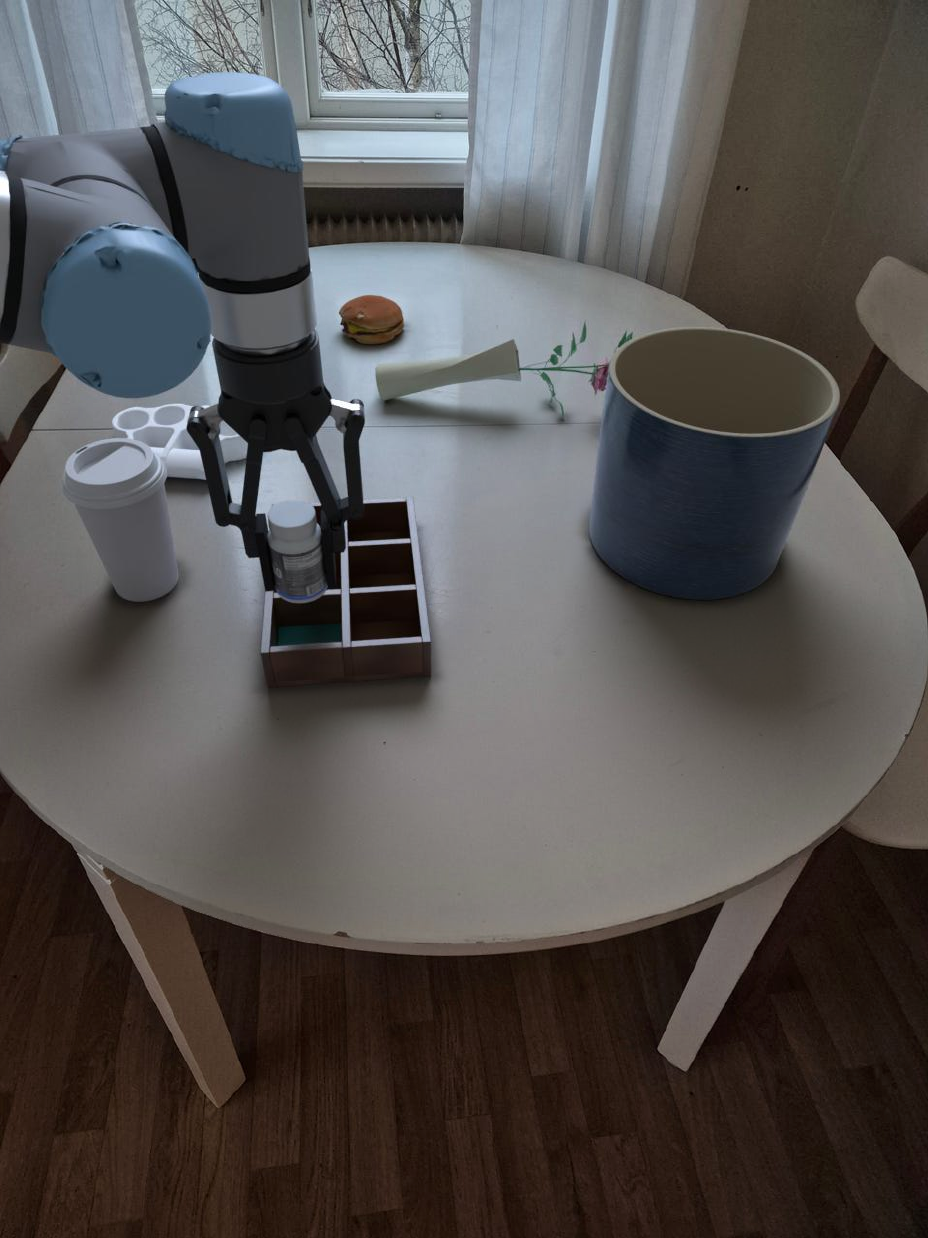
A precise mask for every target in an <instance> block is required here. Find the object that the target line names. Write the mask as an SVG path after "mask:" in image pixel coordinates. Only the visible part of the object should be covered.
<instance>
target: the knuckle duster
mask: <svg viewBox="0 0 928 1238" xmlns="http://www.w3.org/2000/svg"><path fill="white" fill-rule="evenodd" d="M193 406H194V405H188V404H184V403H169V404H164V405H160V406H156V407H140V406H133V407H129V408H125V409H123V410H121V411H119V412H118V413H116V414H115V415H114V417H113V418H112V420H111V427H112V430H113V433H114V436H115V438H128V439H134V440H138V441H141V442H143V443H145V444H147V445H148V446H149V447H150V448H151V449H152V451H153V452H154V453H156V454H157V455H158V456H159V457H160V458H161V460H162V461H163V463H164V464H165V466H166V468H167V478H181V479H193V480H194V479H195V480H203V481H206V477H205V472H204V468H203V463H202V459H201V454H200V450H199V448H198V447H197V445H196V444H195V442H194V441H193V439H192V438H191V436H190V435H189V433H188V432H187V429H186V428H187V422H188V418H189V413H190V409H191V408H192V407H193ZM200 406H201V407H203V408H204V409H205V408H208V407H210V406H211V405H209V404H204V405H200ZM219 438H220V443H221V448H222V453H223V458H224V463H225V464H227V463H229V462H235V461H240V460H244V459H246V457H247V447H248V443H247V442H246V441H245V440H244V439H243V438H242V437H241V436H239V435H238V434H237V433H236V432H235V431H234V430H233V429H232V428H231V427H230V426H229V425H228V424H227V423H226V422H224V421H221V431H220V435H219Z"/></svg>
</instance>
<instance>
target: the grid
mask: <svg viewBox="0 0 928 1238" xmlns="http://www.w3.org/2000/svg"><path fill="white" fill-rule="evenodd" d="M414 500H415V499H414V497H413V496H406V497H390V498H370V499H369V498H368V499H363V504H364V516H363V517H362V518H360V519H353V518H351V519H348V520H347V521H346V522H345V523H344V526H345V537H346V549H345V551H344V552H342V553H334V554H335V563H336V587H332V588H328V587H327V589H326V592H325V593H324V594H323V595H322V596H321V597H319V598H318V599H316V600H314V601H311V602H306V603H292V602H288V601H286V600H284V599H283V598H281V597H280V596H279V595H278V593H277V591H276V587H275V584H274V591H267V592H265V591H264V604H263V614H262V615H263V616H262V630H261V640H260V641H261V642H260V652H259V654H260V658H261V664H262V668H263V673H264V677H265V678H264V679H265V682H266V683H265V684H266V687H267V688H276V687H291V686H302V685H305V686H306V685H318V684H320V685H321V684H332V683H333V684H335V683H345V682H360V681H373V680H375V681H376V680H389V679H401V678H415V677H417V678H418V677H430V676H432V637H431V630H430V622H429V615H428V614H429V613H428V605H427V599H426V598H427V597H426V590H425V583H424V582H425V581H424V574H423V565H422V557H421V549H420V548H421V547H420V541H419V533H418V525H417V515H416V510H415V501H414ZM307 502H308V501H307ZM308 503H310V504H311V505H312V506H313V507H314V509H315V512H316V519H317V524H318V525H319V526H320V528H321V510H323V508H322V506H321V504H320V501H309V502H308ZM275 504H276V503H272V504H271V507H272V506H274V505H275Z"/></svg>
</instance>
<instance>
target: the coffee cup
mask: <svg viewBox="0 0 928 1238" xmlns="http://www.w3.org/2000/svg"><path fill="white" fill-rule="evenodd" d="M167 478H168V477H167V468H166V466H165V464H164V463H163V461H162V460H161V458H160V457H159V456H158V455H157V454H156V453H154V452H153V451H152V449H151V448H150V447H149V446H148V445H147V444H145V443H143V442H141V441H138V440H134V439H128V438H116V437H115V438H114V437H113V438H112V437H111V438H106V439H101V440H100V439H99V440H97V441H94V442H90V443H88V444H86V445H84V446H81V447H80V448H78V449H77V450H75V451H74V452H72V454H71V455H70V456H69V457H68V458H67V460H66V462H65V465H64V471H63V473H62V478H61V490H62V494H63V495H64V497H65V498H66V500H68V501H69V502H71V503H72V504H73V506H74V507H75V509H76V511H77V513H78V515H79V517H80V519H81V521H82V524H83V526H84V527H85V529H86V532H87V533H88V536H89V538H90V540H91V542H92V544H93V547H94V548H95V551H96V552H97V555H98V557H99V558H100V561H101V563H102V565H103V567H104V570H105V571H106V574H107V575H108V578H109V580H110V582H111V584H112V586H113V588H114V590H115V592H116V594H117V595H118V596H119V597H121V598H122V599H123V600H126V601H129V602H136V603H141V602H150V601H155V600H158V599H159V598H162V597H164V596H166V595H167V594H169V593H170V592H172V591H173V590H174V588H175V587H176V586H177V584H178V582H179V577H180V576H179V570H178V563H177V557H176V551H175V545H174V538H173V533H172V532H173V531H172V525H171V519H170V514H169V507H168V500H167V494H166V493H167V492H166V486H165V482H166V481H167V480H166V479H167Z"/></svg>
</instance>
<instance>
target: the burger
mask: <svg viewBox="0 0 928 1238" xmlns="http://www.w3.org/2000/svg"><path fill="white" fill-rule="evenodd" d="M338 315H339V316H340V318H341V320H340V323H339V325H340V326H342V327H343V328H341V331H342V333H344V334H346V336H347V337H348V338H350V339H355V341H356V342H358V343H359V344H363V345H378V344H380V345H382V344H385V343H388V342H389V341H392V340H393V339H394V338H395V336H398V335H399V334H401V333H402V331H403V329H404V328H405V322H404V319H405V318H404V315H403V311H402V308H401V306H400V305H399V304H398V303H397V302H395V301H394V300H392V299H390V298H387V297H384V296H383V295H373V294H364V295H360V296H358V297H355V298H352V299H350V300H348V301H346V302H345V303H344V304H343V305H341V307H340V309H339V311H338Z"/></svg>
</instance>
